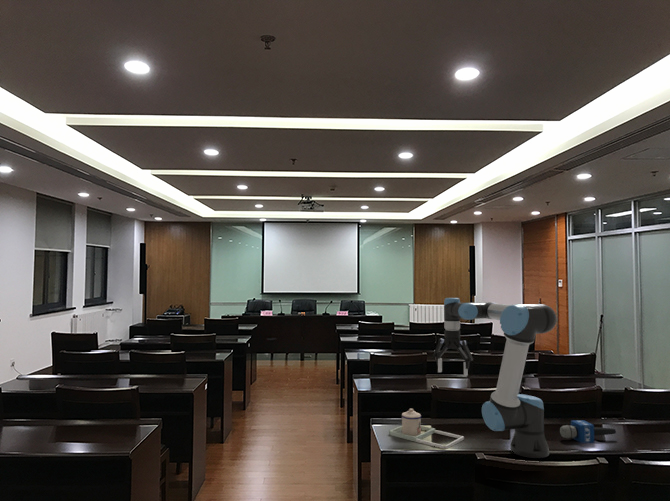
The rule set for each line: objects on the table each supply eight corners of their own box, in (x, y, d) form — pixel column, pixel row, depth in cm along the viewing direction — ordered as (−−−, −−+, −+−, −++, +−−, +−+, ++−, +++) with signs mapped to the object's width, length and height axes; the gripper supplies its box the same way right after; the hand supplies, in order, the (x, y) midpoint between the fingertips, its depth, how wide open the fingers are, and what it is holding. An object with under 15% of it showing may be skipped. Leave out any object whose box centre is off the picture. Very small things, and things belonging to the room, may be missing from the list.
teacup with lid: (422, 437, 222) (421, 411, 222) (401, 437, 222) (401, 411, 223) (419, 429, 234) (419, 405, 234) (400, 429, 234) (400, 404, 235)
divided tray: (464, 439, 220) (464, 435, 220) (445, 449, 207) (445, 445, 207) (409, 426, 239) (409, 422, 239) (389, 434, 226) (389, 430, 226)
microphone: (619, 424, 217) (565, 425, 216) (620, 442, 217) (566, 443, 215) (608, 419, 225) (556, 420, 224) (609, 436, 225) (557, 437, 223)
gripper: (479, 330, 231) (480, 376, 230) (433, 327, 247) (433, 369, 246) (473, 332, 225) (473, 378, 224) (425, 328, 241) (426, 371, 240)
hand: (452, 373), depth 235 cm, fingers open, 13 cm apart
